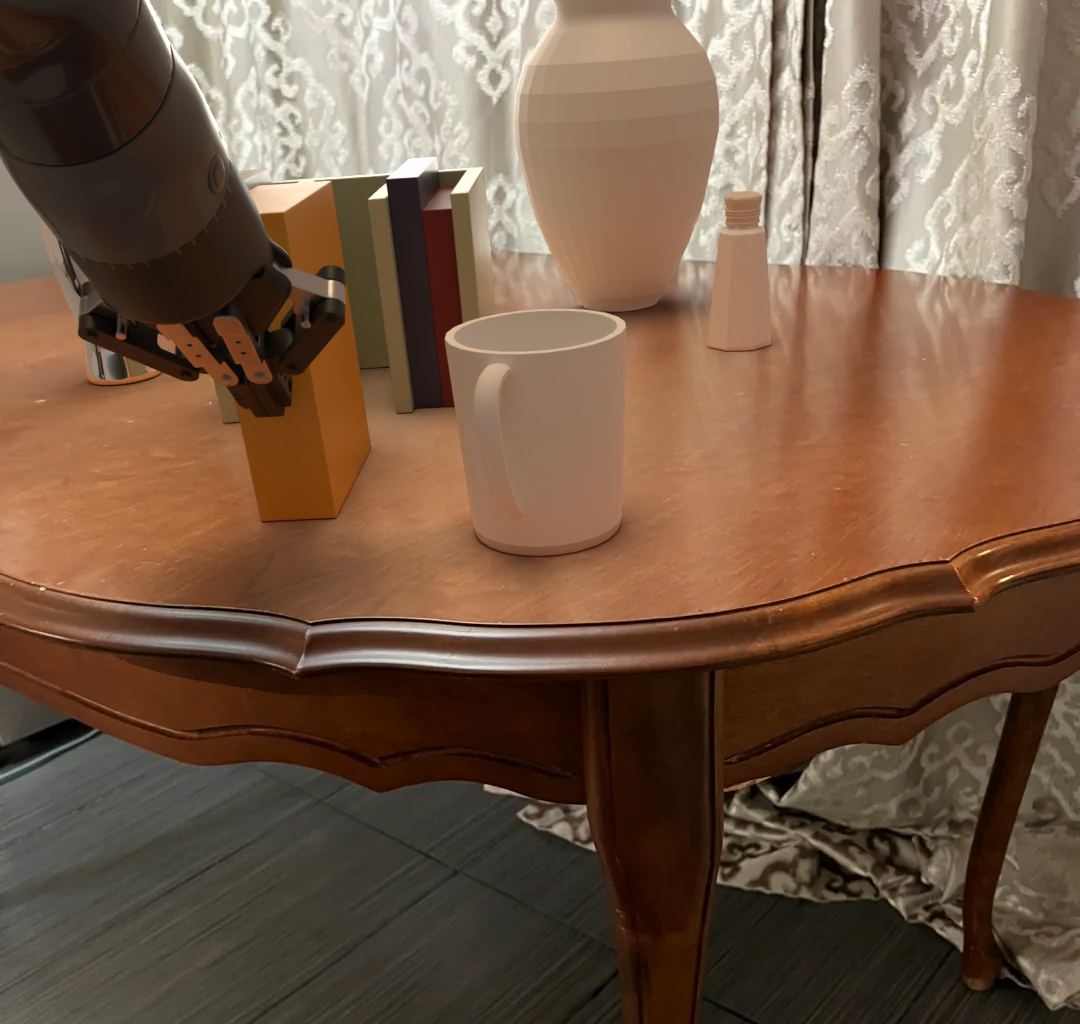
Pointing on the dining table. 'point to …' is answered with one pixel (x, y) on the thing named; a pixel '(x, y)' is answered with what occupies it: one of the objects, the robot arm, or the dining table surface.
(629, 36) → the vase
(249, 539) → the dining table surface
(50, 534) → the dining table surface
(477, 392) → the mug
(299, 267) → the ochre book
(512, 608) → the dining table surface
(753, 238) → the pepper shaker
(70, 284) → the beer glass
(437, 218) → the bookrack
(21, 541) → the dining table surface
